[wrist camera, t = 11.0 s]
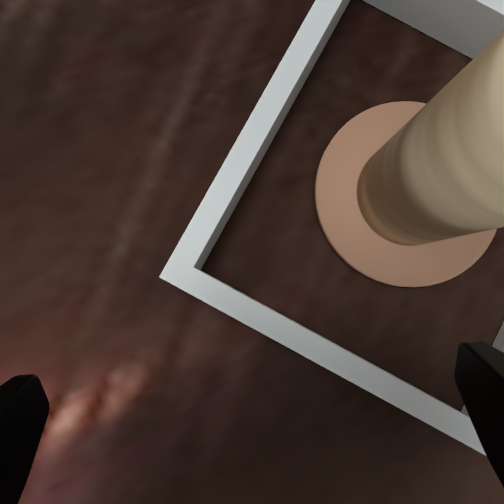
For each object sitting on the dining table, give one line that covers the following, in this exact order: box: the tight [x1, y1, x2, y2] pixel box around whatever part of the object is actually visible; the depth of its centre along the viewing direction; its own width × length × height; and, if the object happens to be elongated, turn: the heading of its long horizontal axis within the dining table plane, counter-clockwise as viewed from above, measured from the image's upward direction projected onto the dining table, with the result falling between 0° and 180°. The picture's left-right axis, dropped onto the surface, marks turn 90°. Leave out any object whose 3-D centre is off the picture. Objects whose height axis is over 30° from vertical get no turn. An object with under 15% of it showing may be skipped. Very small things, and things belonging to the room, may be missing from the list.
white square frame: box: [159, 0, 504, 455], centre depth 18 cm, size 18×16×3 cm
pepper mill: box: [357, 30, 504, 246], centre depth 12 cm, size 5×5×13 cm
